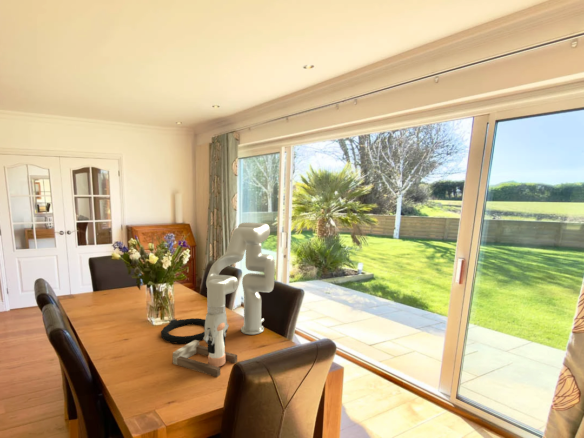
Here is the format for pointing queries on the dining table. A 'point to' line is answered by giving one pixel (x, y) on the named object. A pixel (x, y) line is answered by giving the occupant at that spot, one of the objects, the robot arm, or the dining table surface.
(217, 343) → the pepper shaker
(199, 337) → the cable lock
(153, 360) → the dining table surface
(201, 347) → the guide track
